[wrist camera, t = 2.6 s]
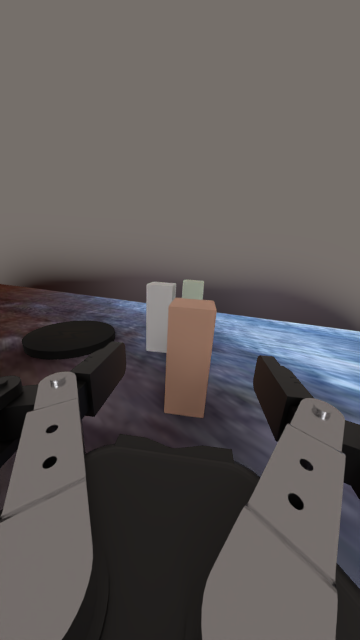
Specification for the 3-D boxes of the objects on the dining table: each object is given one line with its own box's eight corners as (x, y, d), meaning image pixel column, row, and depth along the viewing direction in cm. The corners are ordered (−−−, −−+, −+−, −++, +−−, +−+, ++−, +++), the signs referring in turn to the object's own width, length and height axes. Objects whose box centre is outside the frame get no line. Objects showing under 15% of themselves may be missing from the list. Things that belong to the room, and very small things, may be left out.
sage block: (179, 335, 48) (183, 281, 44) (181, 329, 53) (184, 279, 49) (198, 337, 48) (204, 283, 44) (198, 330, 53) (203, 281, 49)
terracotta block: (164, 412, 24) (168, 306, 19) (170, 387, 28) (175, 297, 24) (203, 418, 23) (216, 310, 19) (203, 391, 28) (213, 300, 24)
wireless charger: (130, 339, 45) (130, 331, 45) (50, 372, 31) (48, 361, 30) (87, 323, 54) (86, 316, 54) (9, 343, 40) (7, 334, 39)
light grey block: (146, 350, 40) (146, 284, 35) (152, 341, 44) (153, 281, 40) (169, 353, 39) (172, 286, 35) (172, 343, 44) (176, 283, 40)
